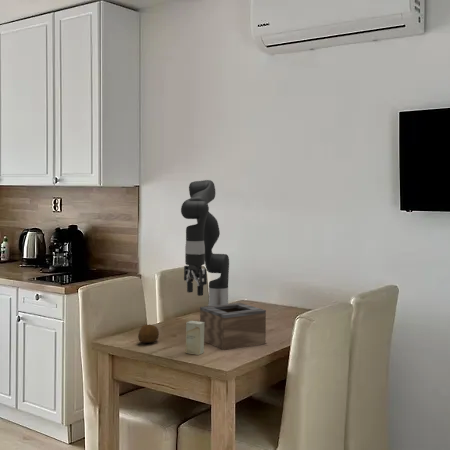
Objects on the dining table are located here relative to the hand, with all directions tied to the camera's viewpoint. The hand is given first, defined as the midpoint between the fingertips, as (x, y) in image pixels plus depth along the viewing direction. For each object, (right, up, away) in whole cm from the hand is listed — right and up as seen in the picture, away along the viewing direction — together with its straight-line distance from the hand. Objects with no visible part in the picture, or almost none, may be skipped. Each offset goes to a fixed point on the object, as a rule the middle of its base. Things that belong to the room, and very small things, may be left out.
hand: (195, 293), depth 243 cm
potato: (-20, -23, +17) cm, 35 cm away
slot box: (+15, -22, +19) cm, 33 cm away
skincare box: (0, -23, +1) cm, 24 cm away
